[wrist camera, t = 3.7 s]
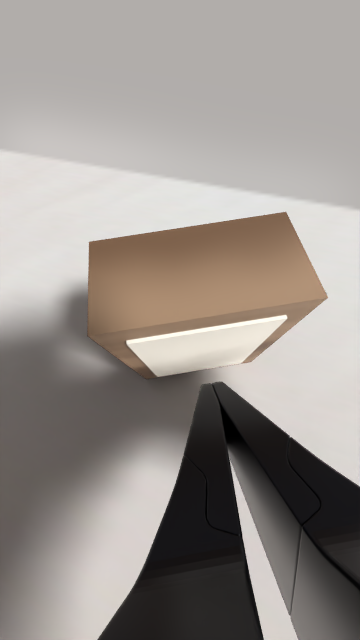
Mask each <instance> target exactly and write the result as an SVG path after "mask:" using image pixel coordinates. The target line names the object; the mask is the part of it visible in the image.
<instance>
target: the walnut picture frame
mask: <svg viewBox="0 0 360 640" xmlns="http://www.w3.org/2000/svg"><path fill="white" fill-rule="evenodd" d="M327 298H328V297H327V295H326V293H325V291H324V288H323V286H322V284H321V282H320V280H319V278H318V276H317V274H316V272H315V270H314V268H313V266H312V264H311V262H310V260H309V258H308V256H307V254H306V252H305V250H304V248H303V246H302V243H301V241H300V239H299V237H298V235H297V233H296V231H295V229H294V227H293V225H292V223H291V221H290V219H289V217H288V215H287V213H286V212H282V213H276V214H269V215H263V216H256V217H249V218H243V219H236V220H230V221H223V222H217V223H210V224H203V225H197V226H190V227H184V228H177V229H171V230H164V231H157V232H151V233H144V234H138V235H131V236H125V237H118V238H111V239H105V240H98V241H92V242H89V274H88V328H87V336H88V337H89V338H91V339H92V340H93V341H95V342H96V343H97V344H99V345H100V346H102V347H103V348H104V349H106V350H107V351H108V352H110V353H111V354H112V355H114V356H115V357H117V358H118V359H119V360H121V361H122V362H123V363H125V364H126V365H127V366H129V367H130V368H132V369H133V370H134V371H136V372H137V373H138V374H140V375H141V376H142V377H144V378H145V379H150V378H156V377H163V376H169V375H175V374H181V373H187V372H193V371H199V370H205V369H211V368H217V367H223V366H229V365H235V364H241V363H248V362H251V361H253V360H254V359H255V358H256V357H257V356H259V355H260V354H261V353H262V352H263V351H264V350H266V349H267V348H268V347H269V346H270V345H272V344H273V343H274V342H275V341H276V340H278V339H279V338H280V337H281V336H282V335H284V334H285V333H286V332H287V331H288V330H290V329H291V328H292V327H293V326H294V325H296V324H297V323H298V322H299V321H300V320H302V319H303V318H304V317H305V316H306V315H308V314H309V313H310V312H311V311H312V310H314V309H315V308H316V307H317V306H318V305H320V304H321V303H322V302H323V301H324V300H326V299H327Z"/></svg>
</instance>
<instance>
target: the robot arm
mask: <svg viewBox="0 0 360 640" xmlns="http://www.w3.org/2000/svg"><path fill="white" fill-rule="evenodd" d="M229 457H230V460H231V462H232V465H233V468H234V470H235V473H236V476H237V478H238V481H239V484H240V486H241V489H242V492H243V494H244V497H245V499H246V502H247V505H248V507H249V510H250V513H251V515H252V518H253V521H254V523H255V526H256V528H257V531H258V534H259V536H260V539H261V542H262V544H263V547H264V550H265V552H266V555H267V558H268V560H269V563H270V565H271V568H272V571H273V573H274V576H275V579H276V581H277V584H278V587H279V589H280V592H281V595H282V597H283V600H284V602H285V605H286V608H287V610H288V613H289V615H290V616H291V621H292V624H293V626H294V629H295V632H296V634H297V637H298V640H360V486H358V485H357V484H355V483H354V482H352V481H351V480H349V479H348V478H346V477H345V476H343V475H342V474H340V473H339V472H337V471H336V470H335V469H333V468H332V467H330V466H329V465H327V464H326V463H325V462H323V461H322V460H320V459H319V458H317V457H316V456H315V455H314V454H312V453H311V452H310V451H308V450H307V449H306V448H304V447H303V446H302V445H301V444H299V443H298V442H297V441H296V440H294V439H293V438H292V437H290V436H289V435H288V434H287V433H285V432H284V431H283V430H282V429H280V428H279V427H278V426H277V425H275V424H274V423H273V422H272V421H270V420H269V419H268V418H267V417H266V416H264V415H263V414H262V413H261V412H259V411H258V410H257V409H256V408H254V407H253V406H252V405H251V404H249V403H248V402H247V401H246V400H244V399H243V398H242V397H241V396H239V395H238V394H237V393H236V392H234V391H233V390H232V389H231V388H229V387H228V386H227V385H226V384H224V383H223V382H215V383H212V384H210V383H209V384H203V385H202V386H201V389H200V393H199V396H198V400H197V404H196V408H195V412H194V416H193V420H192V424H191V428H190V432H189V436H188V440H187V443H186V447H185V451H184V456H183V459H182V463H181V466H180V470H179V473H178V477H177V480H176V484H175V486H174V489H173V492H172V495H171V498H170V500H169V503H168V506H167V508H166V511H165V513H164V516H163V518H162V521H161V524H160V526H159V529H158V531H157V534H156V536H155V539H154V541H153V544H152V547H151V549H150V552H149V554H148V557H147V559H146V561H145V564H144V566H143V568H142V570H141V572H140V575H139V577H138V579H137V580H136V582H135V584H134V586H133V588H132V589H131V591H130V593H129V594H128V596H127V597H126V599H125V600H124V602H123V603H122V605H121V606H120V607H119V609H118V610H117V612H116V613H115V615H114V616H113V618H112V619H111V621H110V622H109V624H108V625H107V626H106V628H105V629H104V631H103V632H102V634H101V635H100V637H99V638H98V640H264V638H263V634H262V629H261V625H260V620H259V616H258V611H257V607H256V602H255V598H254V593H253V589H252V584H251V579H250V575H249V570H248V564H247V559H246V554H245V548H244V542H243V539H242V531H241V525H240V519H239V513H238V507H237V501H236V495H235V489H234V484H233V478H232V472H231V466H230V460H229Z"/></svg>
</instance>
